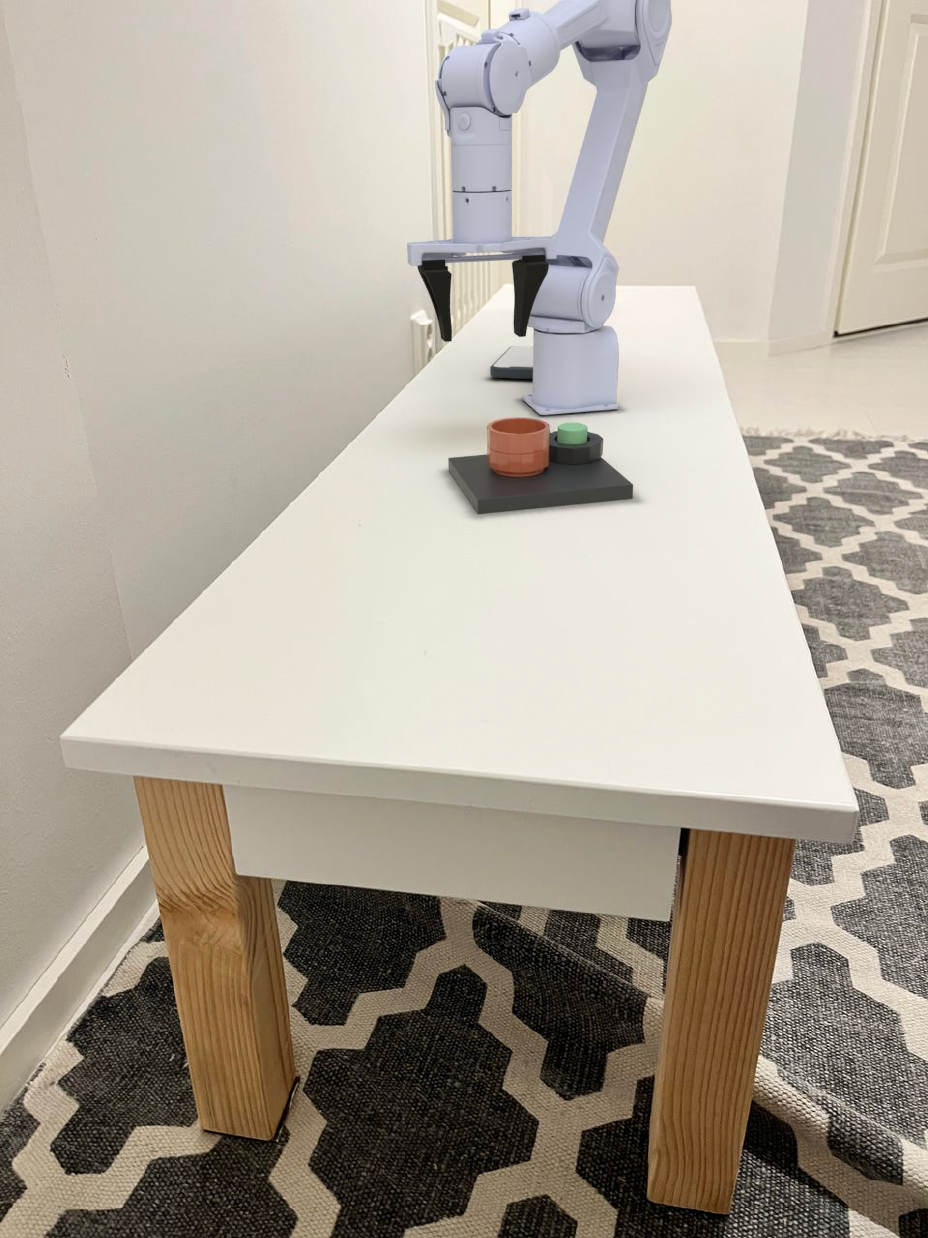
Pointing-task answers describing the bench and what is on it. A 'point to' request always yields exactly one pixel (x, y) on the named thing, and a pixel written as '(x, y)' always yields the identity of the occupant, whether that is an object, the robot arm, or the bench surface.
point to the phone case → (514, 363)
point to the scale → (543, 480)
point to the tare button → (572, 433)
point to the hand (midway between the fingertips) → (483, 337)
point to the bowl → (518, 446)
